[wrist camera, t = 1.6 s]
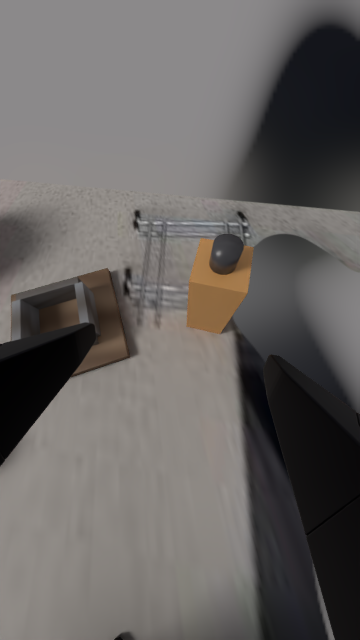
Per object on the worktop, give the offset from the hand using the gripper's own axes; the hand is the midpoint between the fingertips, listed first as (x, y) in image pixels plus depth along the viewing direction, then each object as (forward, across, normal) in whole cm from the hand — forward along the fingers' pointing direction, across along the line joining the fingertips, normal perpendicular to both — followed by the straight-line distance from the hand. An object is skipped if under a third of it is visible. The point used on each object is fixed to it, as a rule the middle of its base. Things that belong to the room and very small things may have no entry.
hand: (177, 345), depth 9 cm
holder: (+12, +16, +8) cm, 22 cm away
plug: (+15, -2, +5) cm, 16 cm away
